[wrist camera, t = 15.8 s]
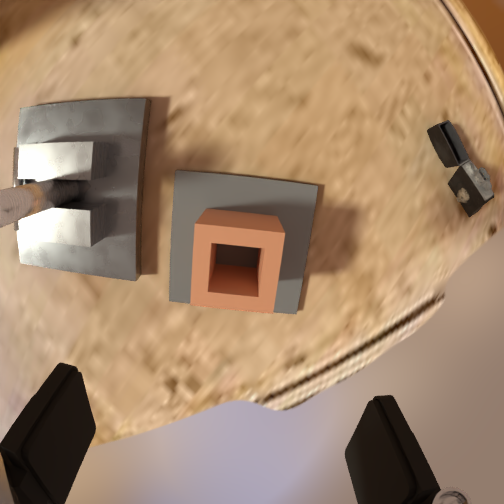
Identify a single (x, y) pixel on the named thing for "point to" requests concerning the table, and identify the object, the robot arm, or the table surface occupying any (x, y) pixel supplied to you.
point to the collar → (236, 277)
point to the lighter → (461, 168)
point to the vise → (80, 186)
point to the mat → (250, 201)
